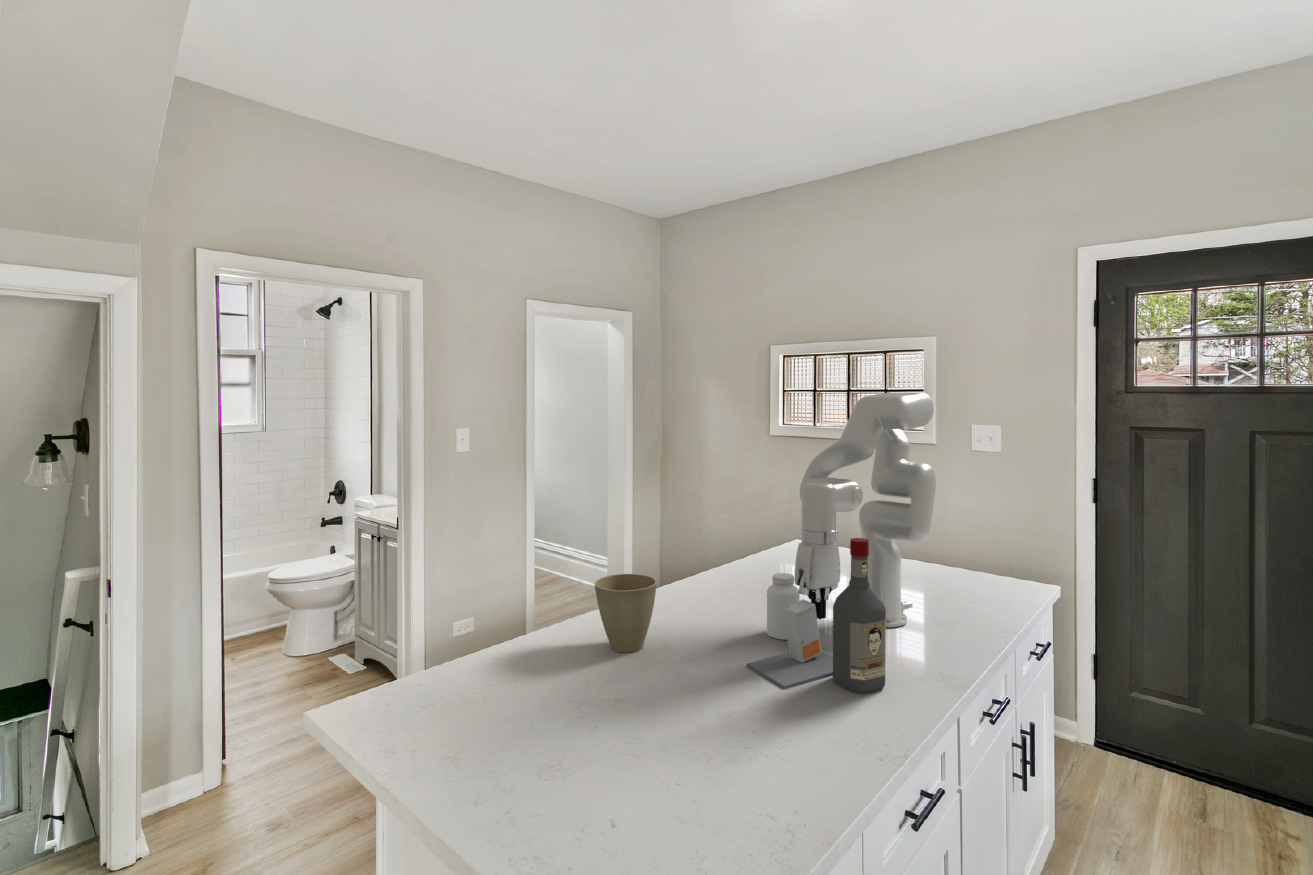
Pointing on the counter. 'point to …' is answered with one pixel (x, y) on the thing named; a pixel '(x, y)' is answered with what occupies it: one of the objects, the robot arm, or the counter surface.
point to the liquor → (859, 629)
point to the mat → (793, 669)
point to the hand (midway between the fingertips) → (818, 616)
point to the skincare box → (802, 630)
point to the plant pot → (626, 609)
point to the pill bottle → (780, 603)
